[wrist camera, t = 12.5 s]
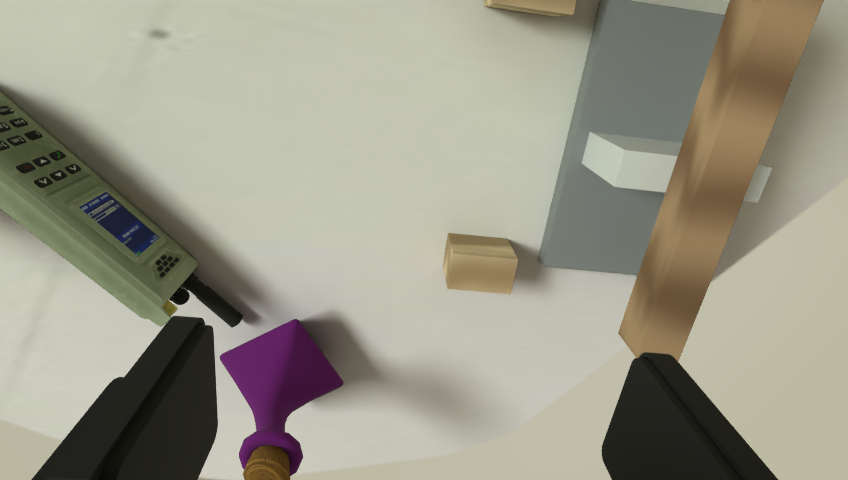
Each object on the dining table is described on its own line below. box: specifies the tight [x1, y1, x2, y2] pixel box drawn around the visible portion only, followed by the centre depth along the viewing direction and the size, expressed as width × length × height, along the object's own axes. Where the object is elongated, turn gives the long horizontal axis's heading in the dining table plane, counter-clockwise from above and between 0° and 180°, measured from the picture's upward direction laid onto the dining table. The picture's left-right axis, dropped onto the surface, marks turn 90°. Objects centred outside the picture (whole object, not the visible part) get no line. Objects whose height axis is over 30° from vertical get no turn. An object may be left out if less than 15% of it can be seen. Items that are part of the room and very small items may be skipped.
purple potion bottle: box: [220, 319, 343, 480], centre depth 35 cm, size 8×8×18 cm
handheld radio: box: [0, 91, 243, 327], centre depth 35 cm, size 7×3×25 cm
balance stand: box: [538, 0, 772, 275], centre depth 35 cm, size 20×12×8 cm, turn 173°
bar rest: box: [443, 0, 577, 294], centre depth 35 cm, size 23×5×4 cm, turn 173°
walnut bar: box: [618, 0, 824, 361], centre depth 30 cm, size 24×3×3 cm, turn 173°
